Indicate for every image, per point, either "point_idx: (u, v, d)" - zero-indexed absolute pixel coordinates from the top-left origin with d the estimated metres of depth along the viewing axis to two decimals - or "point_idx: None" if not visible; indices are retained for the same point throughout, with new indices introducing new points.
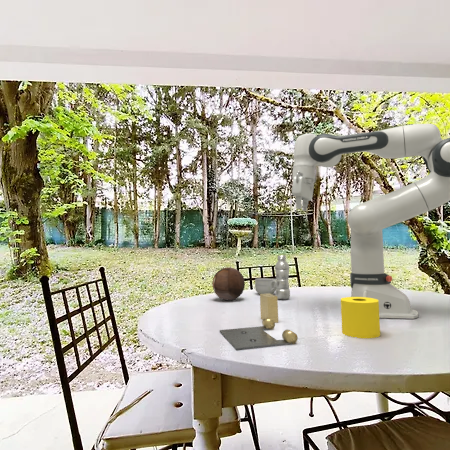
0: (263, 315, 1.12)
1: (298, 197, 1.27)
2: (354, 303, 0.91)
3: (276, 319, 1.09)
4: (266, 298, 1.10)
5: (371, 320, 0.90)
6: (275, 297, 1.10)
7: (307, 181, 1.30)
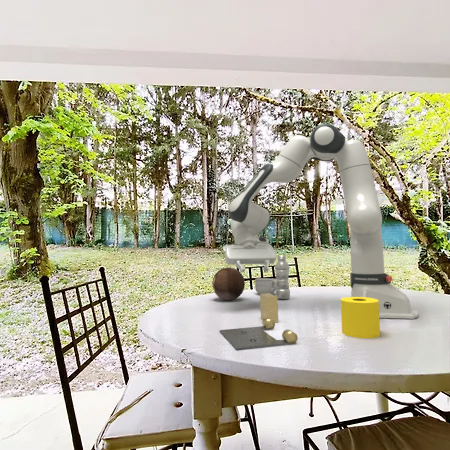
0: (263, 315, 1.12)
1: (236, 262, 1.27)
2: (354, 303, 0.91)
3: (276, 319, 1.09)
4: (266, 298, 1.10)
5: (371, 320, 0.90)
6: (275, 297, 1.10)
7: (244, 245, 1.31)
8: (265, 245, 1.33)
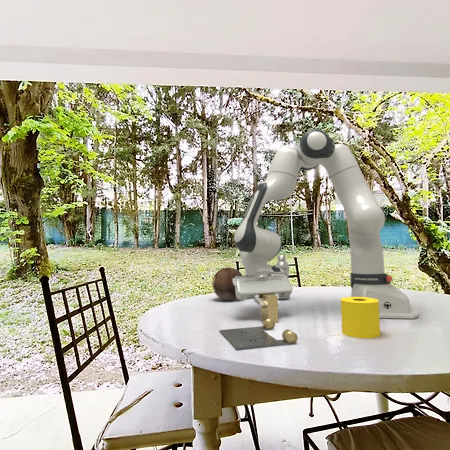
0: (263, 315, 1.12)
1: (254, 297, 1.14)
2: (354, 303, 0.91)
3: (276, 319, 1.09)
4: (266, 298, 1.10)
5: (371, 320, 0.90)
6: (275, 297, 1.10)
7: (256, 277, 1.18)
8: (279, 276, 1.20)
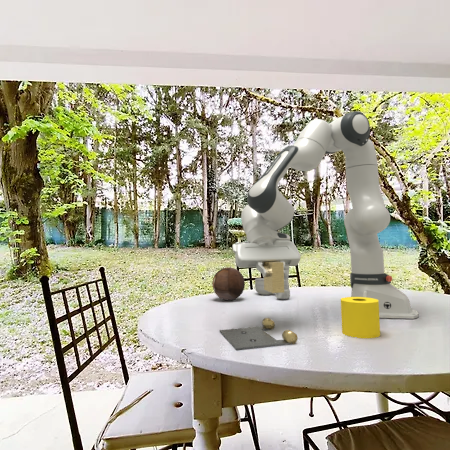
0: (267, 284, 0.98)
1: (257, 265, 1.00)
2: (354, 303, 0.91)
3: (282, 288, 0.95)
4: (270, 264, 0.96)
5: (371, 320, 0.90)
6: (281, 263, 0.95)
7: (259, 243, 1.04)
8: (286, 242, 1.06)
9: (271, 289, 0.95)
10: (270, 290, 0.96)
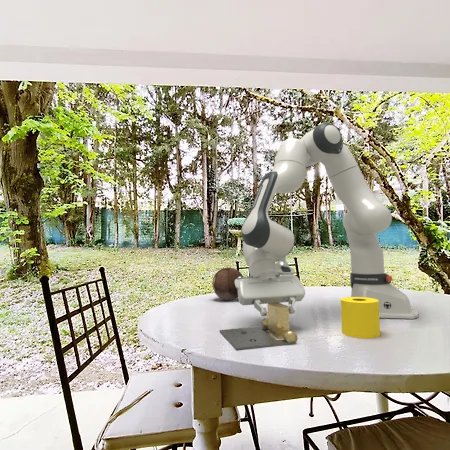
0: (272, 328, 0.95)
1: (254, 302, 0.96)
2: (354, 303, 0.91)
3: None
4: (275, 309, 0.92)
5: (371, 320, 0.90)
6: (286, 308, 0.92)
7: (262, 279, 1.00)
8: (289, 277, 1.02)
9: (276, 335, 0.92)
10: (275, 335, 0.92)
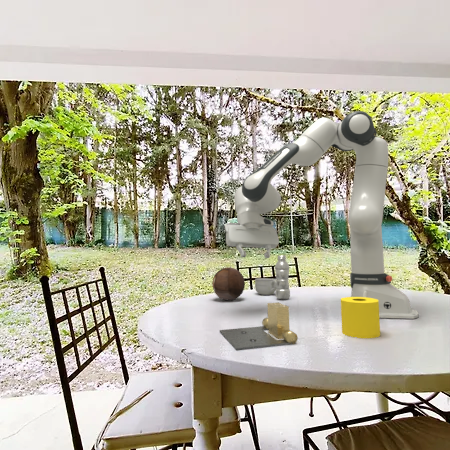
0: (272, 328, 0.95)
1: (237, 245, 1.19)
2: (354, 303, 0.91)
3: None
4: (275, 309, 0.92)
5: (371, 320, 0.90)
6: (286, 308, 0.92)
7: (247, 227, 1.23)
8: (269, 228, 1.25)
9: (276, 335, 0.92)
10: (275, 335, 0.92)
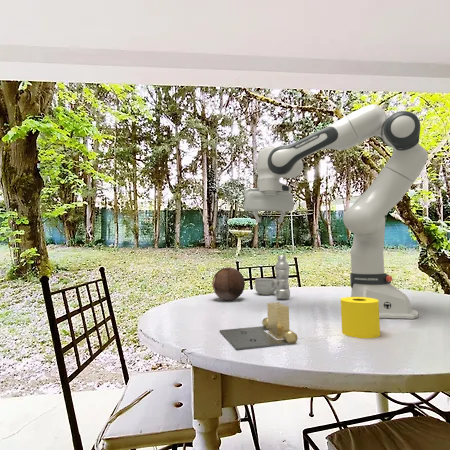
0: (272, 328, 0.95)
1: (253, 212, 1.32)
2: (354, 303, 0.91)
3: None
4: (275, 309, 0.92)
5: (371, 320, 0.90)
6: (286, 308, 0.92)
7: (265, 194, 1.31)
8: (286, 194, 1.33)
9: (276, 335, 0.92)
10: (275, 335, 0.92)
